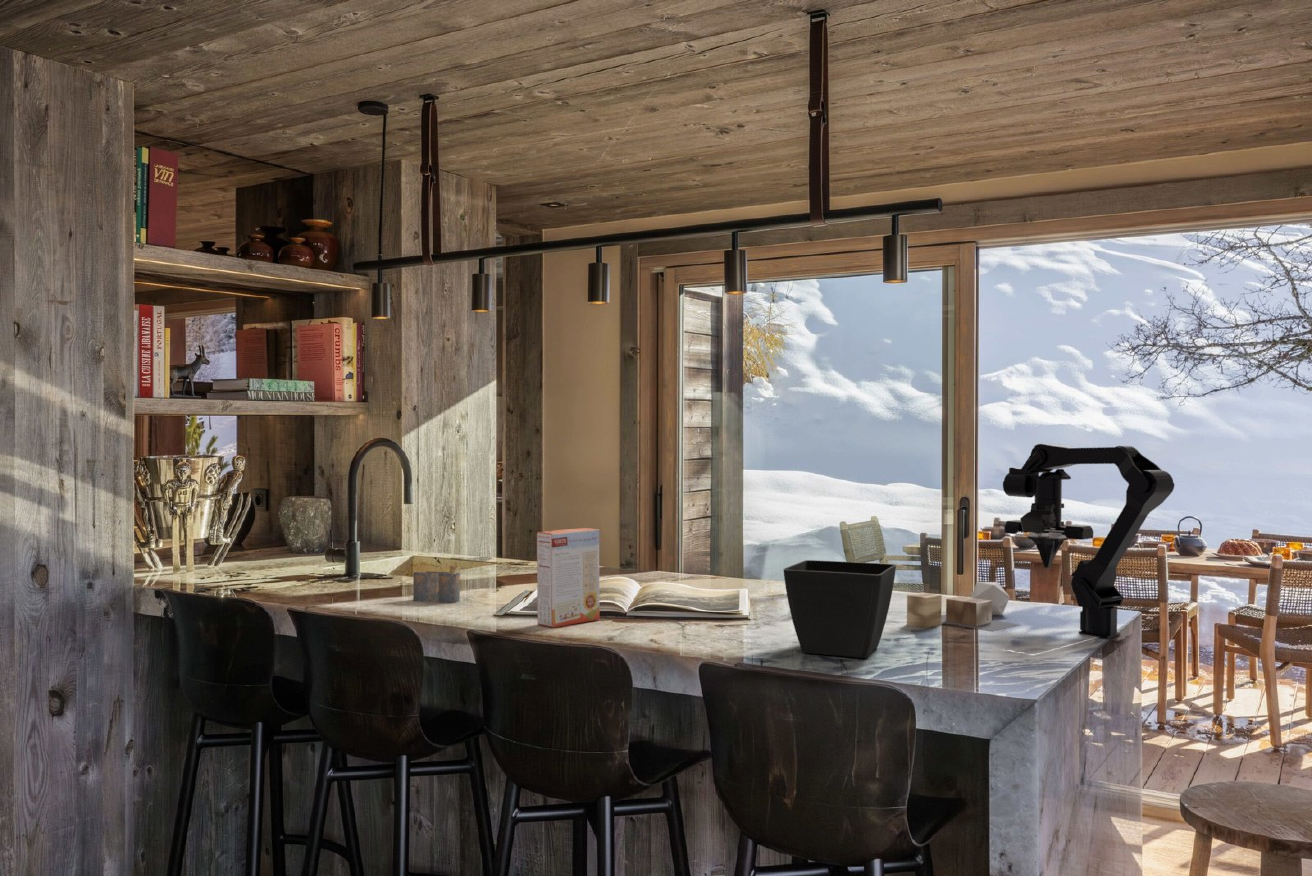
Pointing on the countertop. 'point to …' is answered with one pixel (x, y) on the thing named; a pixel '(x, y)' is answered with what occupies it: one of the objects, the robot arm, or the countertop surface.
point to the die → (992, 595)
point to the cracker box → (567, 576)
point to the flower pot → (839, 605)
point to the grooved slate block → (437, 586)
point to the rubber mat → (988, 627)
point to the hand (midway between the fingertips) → (1047, 567)
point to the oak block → (924, 609)
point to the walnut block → (969, 610)
